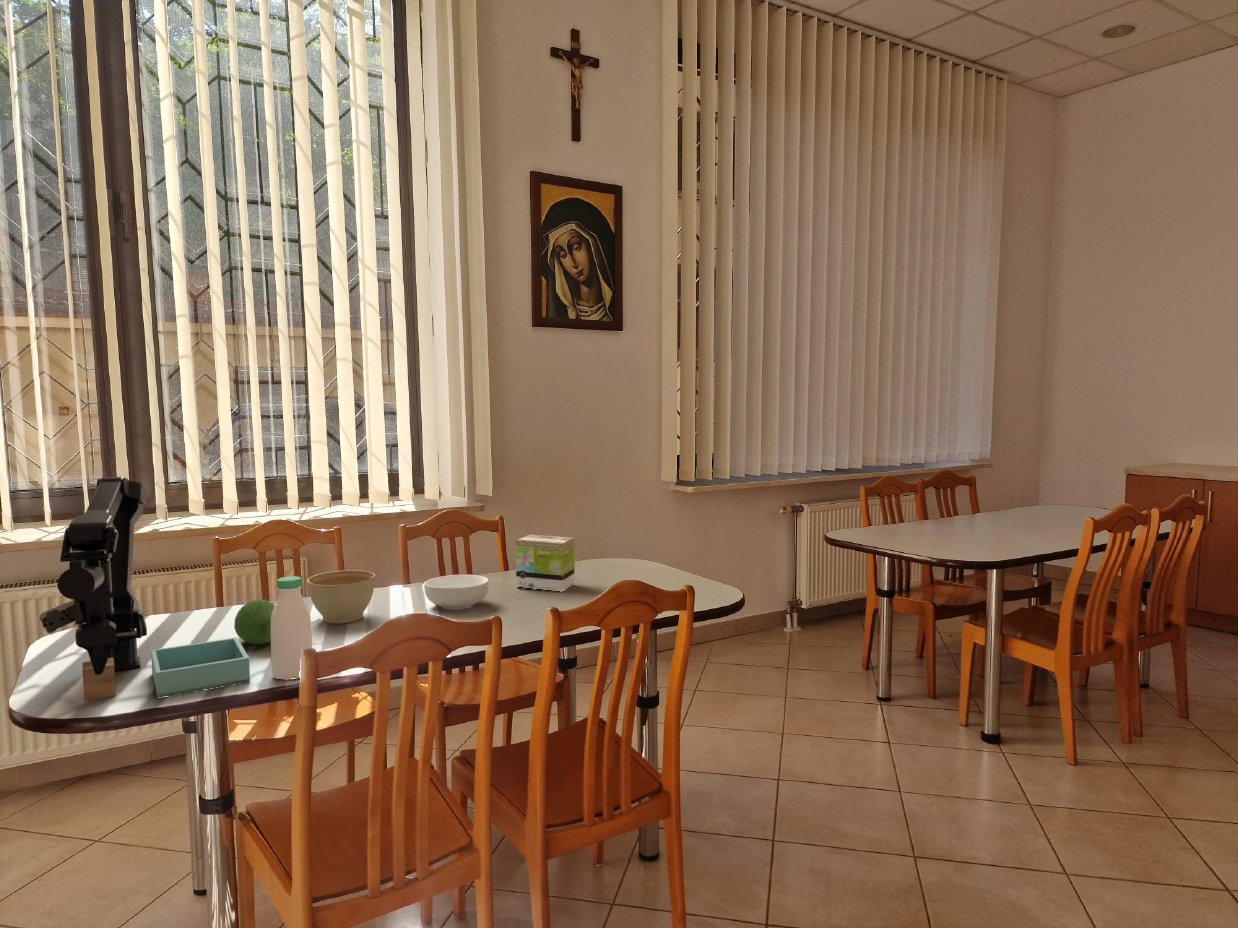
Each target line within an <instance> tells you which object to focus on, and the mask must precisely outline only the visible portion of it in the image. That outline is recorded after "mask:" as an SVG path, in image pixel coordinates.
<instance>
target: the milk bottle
mask: <svg viewBox="0 0 1238 928" xmlns="http://www.w3.org/2000/svg"><path fill="white" fill-rule="evenodd" d="M302 585H303V582H302V577H300V576H293V575H291V576H283V577H280V578H278V579H277V580H276V587H277V589H276V590H277V592H278V595H277V600H276V603H275V604H274V605H275V607H274V609H273V612H272V616H271V642H270V651H271V652H270V653H271V654H270V655H271V675H272V677H273V679H275V678H276V679H275V680H277V679H291V678H299V671H300V659H301V650H302V649H306V648H312V649H313V635H312V634H313V633H312V620H311V613H310V609H309V607H308V605H307V604H306V602H305V600H304V598H303V595H302V588H303V587H302Z"/></svg>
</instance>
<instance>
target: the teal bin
mask: <svg viewBox="0 0 1238 928" xmlns="http://www.w3.org/2000/svg"><path fill="white" fill-rule="evenodd" d="M150 657H151V658H150V659H151V676H152V675H153V676H152V679H153V685H154V689H156V690H155V694H157V695H156V698H157V697H163V696H172V697H175V696H174V695H177V696H179V695H178V694H183V695H187V694H186V693H188V694H193V693H192V692H194V691H199V692H203V691H202V690H204V689H210V688H216V687H221V686H227V687H231V686H230V685H233V684H238V685H240V684H239V683H244V684H247V683H246V682H249V681H250V682H251V672H250V671H251V669H250V657H249V655H248V654H247V652H246V650H245V649H244V646H243V645H242V643H241V641H240V640H239V637H236V636H234V637H229V638H224V639H223V638H222V639H217V640H210V641H204V642H197V643H190V644H183V645H177V646H170V647H163V648H156V649H151V650H150ZM233 686H234V685H233ZM216 689H217V688H216ZM194 693H195V692H194Z"/></svg>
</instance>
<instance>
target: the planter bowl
mask: <svg viewBox="0 0 1238 928" xmlns="http://www.w3.org/2000/svg"><path fill="white" fill-rule="evenodd" d="M375 578H376V574H375V573H374V572H372V571H367V570H362V569H361V570H358V569H354V570H353V569H345V570H334V571H329V572H322V573H318V574H316V575H312V576H310V577H309V578H307V586H308V592H309V597H310V599H311V602H312V604H313V606H314V608H315V609H316V610H317V612H318V613H319V614H320V615H321V616H322V619H323V622H325V623H327V624H338V625H339V624H348V623H353V622H356V621H358V620H361V619H362V618H363V617H364V612H365V611H366V609H367V608H368V607H369V604H370V603H371V600H372V598H373V594H374V591H375V590H374V589H375V580H376V579H375Z"/></svg>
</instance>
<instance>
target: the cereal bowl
mask: <svg viewBox="0 0 1238 928" xmlns="http://www.w3.org/2000/svg"><path fill="white" fill-rule="evenodd" d="M489 583H490V581H489V579H488V578H487V577H486V576H482V575H476V574H450V575H443V576H437V577H433V578H430V579H428V580H426V581H424V583H423V587H424V588H423V589H424V593H425V597H426V598H427V599H428V600H429V601H430V602H431V603H432V604H434V605H436V606H440V607H443V608H442V609H444V608H446V609H445V610H448V609H449V611H459V610H460V611H461V610H465V609H466V608H467V609H470V608H471V607H472V606H473V605H475V604H477V603H479V602H481V601H483V599H484V598H485V597H486V596H487V594H488V592H489Z"/></svg>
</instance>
